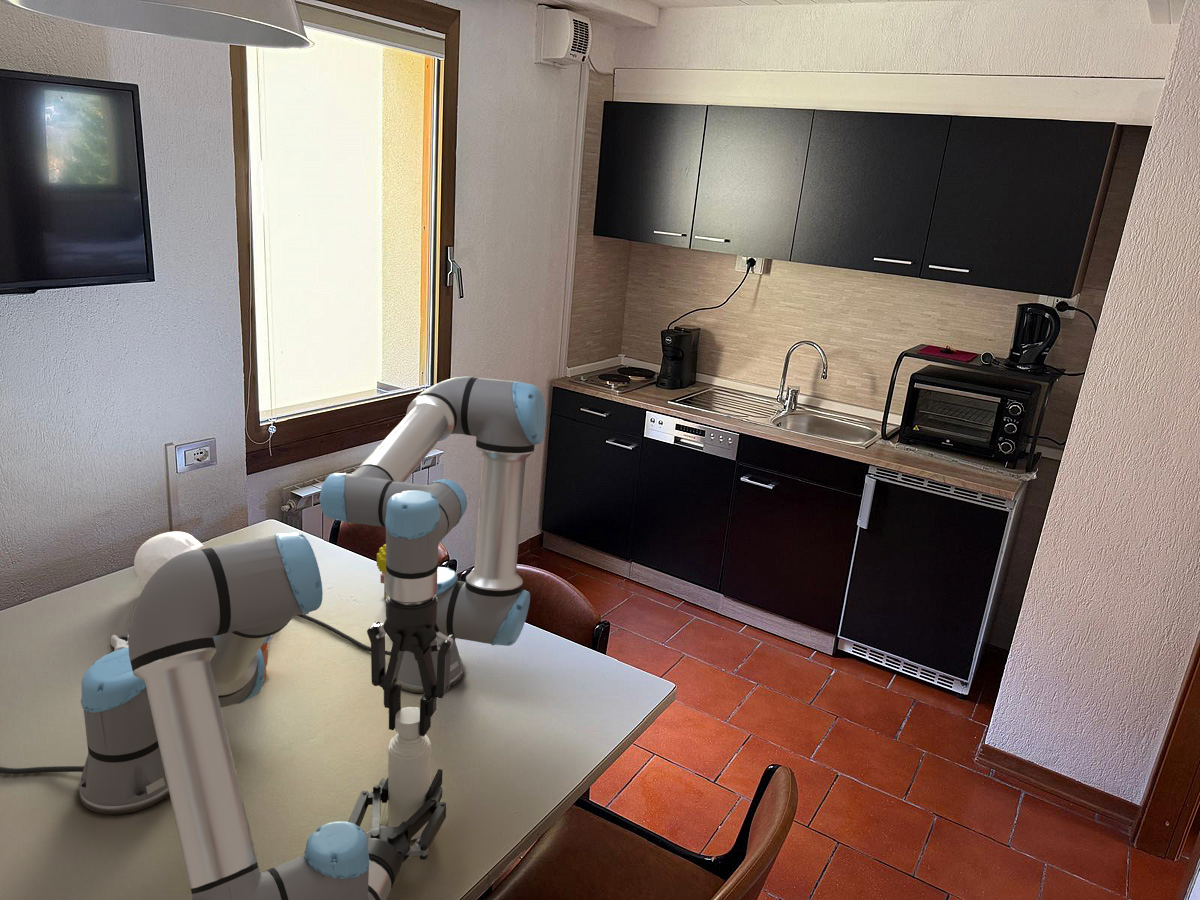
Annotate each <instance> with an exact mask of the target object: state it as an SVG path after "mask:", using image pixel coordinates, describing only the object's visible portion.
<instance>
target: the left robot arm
mask: <svg viewBox="0 0 1200 900" xmlns="http://www.w3.org/2000/svg"><path fill="white" fill-rule="evenodd" d="M322 582H323V581H322V577H321V572H320V567H319V564H318V561H317V557H316V554H315V551H314V549H313V547H312V545H311V543H310V541H309V540H308V538H307V537H306V536H305V535H304V534H303V533H301V532H298V531H291V532H287V533H286V532H284V533H281V532H276V533H275V535H269V536H264V537H260V538H254V539H248V540H243V541H237V542H231V543H227V544H221V545H216V546H210V547H205V549H197V550H191V551H188V552H185V553H182V554H180V555H177V556H175V557H174V558H172V559H170V560H169V561H168V562H166V563H165V564H164V565H163V566H161V567H160V568H159V569H158V570H157V571H156V572H155V573H154V575H153V576H152V577H151V578H150V580H149V581H148V582H147V584H146V585H145V587H144V586H143V588H142V591H141V592H140V595H139V596H138V598H137V601H136V603H135V606H134V608H133V612H132V616H131V620H130V624H129V629H128V630H129V631H128V635H129V640H128V647H127V648H123V649H120V650H117V651H112V652H109V653H107V654H105V655H104V656H101V657H100V658H99V659H97V660H95V662H93V663H92V665H91V666H89V667H88V668H87V669H86V670H85V672H84V674H83V676H82V678H81V682H80V683H81V684H80V685H81V687H80V689H81V692H80V693H81V699H80V705H81V708H82V710H83V717H84V726H85V736H86V745H87V756H86V759H85V763H84V765H63V766H61V765H59V766H54V765H53V766H36V767H22V768H21V767H19V768H18V767H17V768H16V767H15V768H12V767H4V766H0V774H5V775H24V774H39V773H70V772H71V773H81V776H80V780H79V786H78V791H79V798H80V801H81V803H82V805H83V806H84V807H85V808H87V809H88V810H90V811H91V812H93V813H97V814H102V815H124V814H130V813H134V812H139V811H142V810H144V809H147V808H149V807H152V806H154V805H156V804H159V802H162V801H163V800H164V799H166V798H168V797H169V798H170V802H171V807H172V811H173V816H174V821H175V825H176V830H177V834H178V839H179V843H180V847H181V852H182V857H183V862H184V866H185V870H186V871H185V872H186V874H187V879H188V883H189V887H190V892H191V897H192V900H387V899H388V897H389V894H390V892H391V890H392V888H393V886H394V885H395V882H396V880H397V877H398V876H399V873H400V871H401V869H402V866H403V864H404V863H405V862H406V861H408V859H409V858H410V857H415V856H416V857H417V856H419V859H420V860H421V861H425V860H427V859H428V858H429V849H430V847H431V845H432V844H433V842H434V839H435V838H436V836H437V834H438V833H439V831H440V829H441V827H442V825H443V824H444V822H445V820H446V819H447V802H446V801H442V798H443V786H442V785H443V775H444V774H443V773H444V772H443V771H444V769H441V768H438V769H437V771H436V773H435V775H434V777H433V779H432V782H431V783H430V788H429V790H428V792H427V794H426V803H425V804H424V805H423V806H422V807H420V808H419V809H418V810H417V811H416V812H415V813H414V814H413V815H412V816H411V817H410V818H409V819H408V820H407V821H406V822H404V821H403V822H402V823H401V824H400V825H399V826H398V827H388V825H386V824H381V814H382V813H381V810H382V809H381V807H382V804H388V777H387V778H382V779H380V781H379V782H378V784H376V785H373V787H372V792H371V791H370V792H369V791H368V790H367V789H366V790H362V791H360V793H359V795H358V798H357V801H356V802H355V805H354V808H353V810H352V813H351V814H350V816H349V818H348V821H346V820H335V821H331V822H327V823H325V824H322V825H320V826H319V827H318V828H317V829H316V830H315V831H314V832H312V833H311V834H310V835H309V836H308V839H307V841H306V844H305V850H304V853H303V854H302V855H299V856H297V857H295V858H293V859H290V860H288V861H286V862H283V863H281V864H279V865H276V866H274V867H272V868H269V869H266V870H265V871H264V870H263V871H261V870H260V868H259V864H258V857H257V853H256V849H255V844H254V840H253V836H252V832H251V828H250V824H249V820H248V816H247V815H248V814H247V811H246V807H245V802H244V799H243V794H242V790H241V787H240V781H239V777H238V773H237V769H236V765H235V759H234V757H233V753H232V749H231V744H230V741H229V740H230V739H229V736H228V732H227V728H226V723H225V719H224V715H223V710H222V708H226V707H229V706H232V705H237V704H239V705H240V704H242V703H244V702H246V701H247V700H250V699H252V698H254V697H256V696H257V695H259V693H260V692H261V691H262V688H263V686H264V682H265V680H264V677H263V675H264V674H265V666H264V659H263V655H262V651H261V648H260V647H261V646H262V644H263V643H264V641H265V639H266V638H267V637H269V636H271V637H272V636H273V635H275V634H277V633H279V632H280V631H281V630H283V629H285V627H286V626H287V625H288V624H289V623H290V621H291V620H292V618H294V617H298V616H297V615H300V614H304V615H309V614H310V613H312V612H315V611H317V610H318V609H320V607H321V606H322V603H323V595H324V593H323V583H322ZM369 806H372V808H371V823H370V825H371V827H370V829H368V830H367V831H364V830H363V829H362V828H361V825H362V822H363V820H364V817H365V816H366V813H367V810H368V808H369ZM427 822H428V823H427ZM426 823H427V825H426V827H425V828H424V830H423V832H422V834H421V837H419V838H416V841H415V842H414V843H413V844H412V845H411V844H410V842H411V841H412V840H411V838H412V837H413V836H414V835H415V834H416V833H417V832H418V831H419V830H420V829H421V828H422V827H423V826H424V825H425V824H426Z"/></svg>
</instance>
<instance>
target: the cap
mask: <svg viewBox="0 0 1200 900" xmlns="http://www.w3.org/2000/svg"><path fill="white" fill-rule="evenodd" d="M394 730H395V732H396V733H398V734H400V735H403V736H415V735H418V734H419V732H420V707H416V706H408V707H404V708H401V710H399V711H398V712H397V713H396V716H395V729H394Z"/></svg>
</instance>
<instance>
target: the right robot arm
mask: <svg viewBox="0 0 1200 900" xmlns="http://www.w3.org/2000/svg"><path fill="white" fill-rule="evenodd" d="M546 419H547V417H546V405H545V399H544V396H543V393H542V391H541V390H540V388H539V387H538V386H536V385H535V384H531V383H526V382H521V381H518V380H507V379H496V378H485V377H475V376H469V375H465V376H463V375H462V376H456V377H451V378H449V379H448V378H447V379H445V380H442V381H440V382H438V383H435V384H433V385H431V386H429V387H428V388H426V389H425V390H423V391H422V392H420V393H419V394H418V395H416V397H414V398H413V400H412V401H411V402H410V403H409V404H408V406H407V409H406V415H405V416H404V417H403V418H402V420H401V421H399V423H398V424H397V425H396V426H395V427H393V429H392V430H391V431H390V433H388V435H386V437H385V438H384V439H383V440H382V441H381V442H380V443H379V444H378V446H377V447H376V448H375V449H374V450H373V451H372V452H370V454H369V455H368V456H367V457H366V459H364V461H363V462H362V463H360V465H359V466H358V467H357V468H356V469H355V470H354V471H353V472H352V473H351V474H349V473H347V472H342V473H339V472H334V473H331V474H329V475H328V476H327V477H326V478H325V480H324V481H323V484H322V486H321V488H320V489H321V490H320V494H319V504H320V505H319V506H320V510H321V512H322V514H323V516H324V517H326V518H327V519H330V520H335V521H340V522H344V523H345V524H348V523H349V524H357V525H358V524H359V525H365V526H374V527H382V528H385V544H386V594H387V596H386V600H385V621H384V622H380V621H377V620H376V621H375V622H373V624H372V625H371V626H369V627H368V629H367V630H366V634H367V636H368V639H369V642H370V646H368V645H366V644H364V643H362V642H360V641H358V640H357V639H355V638H353V637H351V636H350V635H348V634H346V633H344V632H343V631H340V630H339V629H338V628H335V627H333V626H331V625H330V624H327V623H326V622H323V621H321V620H319V619H317V618H314V617H312V616H310V615H308V614H306V615H304V614H300V615H297V616H296V617H299V618H301V619H304V620H307V621H309V622H311V623H314V624H316V625H318V626H321V627H322V628H324V629H326V630H328V631H330V632H332V633H334V634H335V635H337V636H338V637H341V638H343V639H344V640H346V641H348V642H349V643H351V644H353V645H355V646H356V647H358V648H360V649H363V650H365V651H367V652H369V653H370V669H371V670H370V671H371V672H370V673H371V675H370V677H371V684H372V685H373V686H374V687H377V686H379V687H380V688H382V690H383V706H384V708H385V709H388V730H391V731H394V730H396V729H395V716H396V713H397V712H398V711H399V710H401V709H402V703H401V702H402V690H404V691H407V692H410V693H416V694H423V695H422V696H421V698H420V699H419V709H420V732H419V736H423V737H424V736H425V734H426V735H427V733H428V732H429V730H430V729H431V727H432V717H433V716H434V715H435V713H436V711H437V709H438V699H443V698H444V696H445V695H446V694H447V693H448V691H449V690H450V688H451V687H453V686H455V685H456V684H457V683H458V682H459V681H460V680H461V679H462V676H463V672H464V664H463V660H462V657H461V656H460V653H459V649H458V646H457V642H456V639H459V640H465V641H470V642H476V643H482V644H488V645H491V646H495V645H496V646H505V647H508V646H512V645H514V644H515V643H516V642H517V641H518V640H519V638H520V635H521V633H522V631H523V629H524V626H525V622H526V620H527V616H528V612H529V609H530V603H531V593H530V592H529V591H527V590H526V589H523V585H524V583H523V582H524V580H523V578H522V577H521V576H520V574H518V573H517V568H518V567H517V566H518V555H519V545H520V543H519V542H520V533H521V532H520V531H521V519H522V509H523V508H522V507H523V496H524V485H525V472H526V463H527V462H526V461H527V458H529V457H530V456H531V455H532V454H534V452H535V447H536V446H538V445H540V444H542V442H543V441H544V437H545V429H546V423H547V422H546ZM451 435H464V436H469V437H476V438H475V448H476V450H477V451H478V452H479V453H480V454H481V456H482V461H481V471H480V472H481V473H480V487H479V501H478V513H477V527H476V541H475V553H474V564H473V565H474V566H473V567H474V568H473V570H471V572H469V573H468V574H467V575H466V576H465V581H463V580H459V577H458V574H457V572H456V571H455V570H454V569H452V568H450V567H446V566H445V567H444V566H439V545H440V542H442V540H443V539H445V537H446V536H447V535H448V534H449V533H450V532H451V531H452V530H453V529H454V528H455V527H457V525H458V524H460V521H461V519H462V517H463V516H464V514H465V513H466V511H467V508H468V498H467V495H466V494H467V493H466V492H465V490H464V489H463V488H462V486H461V485H460V484H458V483H457V481H454V480H451V479H448V478H440V479H439V478H438V479H436V480H434V481H431V482H430V483H429V482H428V483H427V484H422V483H414V482H409V481H407V480H408V479H409V478H410V477H411V475H412V474H413V473H414V472H415V470H416V469H417V468H418V467H419V466H420V464H421V463H422V462H423V461H424V460H425V458H426V457H427V456H428V454H429V453H430V452H431V451H432V449H433V448H434V447H435V446H436V444H437V443H438V442H441V441H444V440H446V439H447V438H449V437H450V436H451ZM386 635H387V637H388V638H389V639H390V642H392V646H391V649H390V650H387V649H386ZM386 656H389V660H388V663H387V662H386V661H387V660H386ZM386 663H387V664H388V665H387V664H386ZM386 666H387V667H386Z"/></svg>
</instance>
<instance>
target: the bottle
mask: <svg viewBox="0 0 1200 900" xmlns="http://www.w3.org/2000/svg"><path fill="white" fill-rule="evenodd" d="M431 752H432V744H431V740H430V737H429V736H428V735H427V733H426V734H425V736H424V737H423V736H419V734H418V735H415V736H403V735H400V734H398V733H397V732H396V733H395V734H394V736H393V737H392V738H391V739H390V741H389V743H388V751H387V754H388V755H387V757H388V760H387V768H388V769H387V778H388V801H387V826H388V827H398V826H399V825H400V824H401V823H402V822H403V821H404V822H406V821H407V820H408V819H409V818H410V817H411V816H412V815H413V814H414V813H415V812H416V811H417V810H418V809H419V808H420V807H422V806H423V805H424V804H425V803H426V794H427V792H428V790H429V788H430V786H431V757H432V756H431V754H432V753H431ZM427 823H428V822H427ZM427 823H426V824H425V825H424V826H423V827H422V828H421V829H420V830H419V831H418V832H417V833H416V834H415V835H414V836H413V837H412V838H411V840H410V841H413V840H417V839H418V838H420V837H421V834H422V832H423V830H424V828H425V827H426V825H427Z"/></svg>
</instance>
